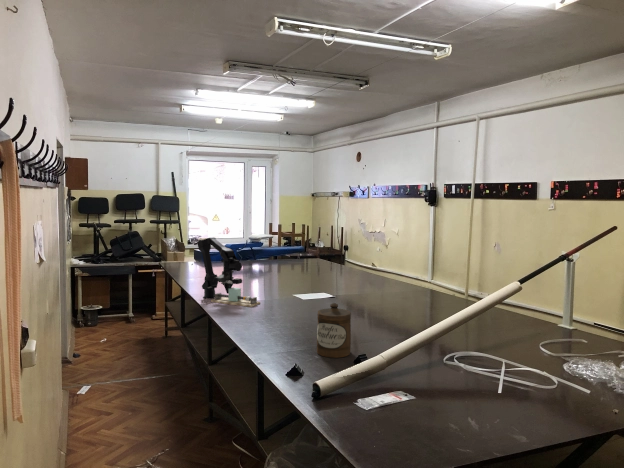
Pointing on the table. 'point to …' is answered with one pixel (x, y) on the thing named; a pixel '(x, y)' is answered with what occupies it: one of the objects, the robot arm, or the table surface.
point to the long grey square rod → (238, 297)
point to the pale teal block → (234, 294)
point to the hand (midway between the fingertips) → (227, 293)
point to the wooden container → (334, 332)
